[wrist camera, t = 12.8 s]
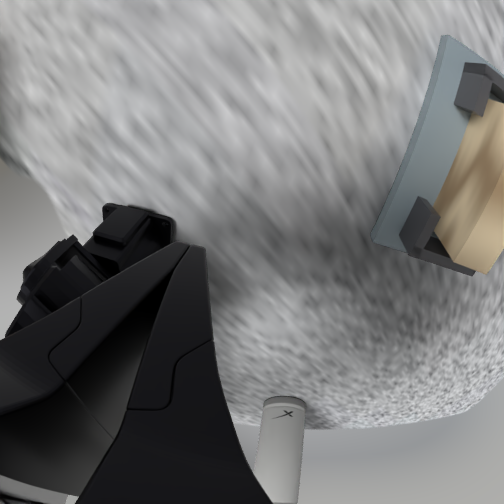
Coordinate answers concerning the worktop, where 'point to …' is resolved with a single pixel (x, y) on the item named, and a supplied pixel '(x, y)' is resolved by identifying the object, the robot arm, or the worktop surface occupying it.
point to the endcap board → (436, 152)
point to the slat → (475, 194)
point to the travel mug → (281, 448)
